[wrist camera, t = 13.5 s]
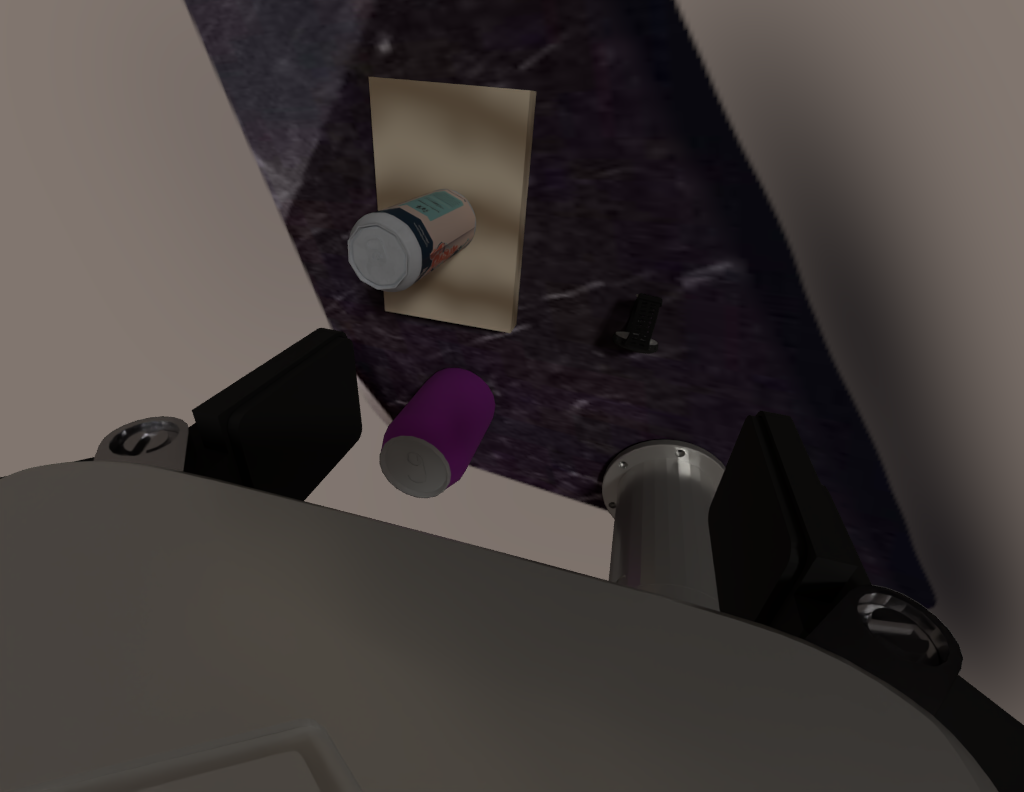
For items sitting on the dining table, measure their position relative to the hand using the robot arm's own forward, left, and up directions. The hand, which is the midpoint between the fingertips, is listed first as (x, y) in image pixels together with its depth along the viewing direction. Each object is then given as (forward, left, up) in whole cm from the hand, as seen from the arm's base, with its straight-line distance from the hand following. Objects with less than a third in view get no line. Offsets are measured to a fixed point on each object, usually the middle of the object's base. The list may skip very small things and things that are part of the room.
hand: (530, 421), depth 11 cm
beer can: (-2, +13, -28) cm, 31 cm away
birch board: (-2, +13, -30) cm, 33 cm away
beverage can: (-20, +12, -31) cm, 38 cm away
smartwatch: (-8, -4, -31) cm, 32 cm away
